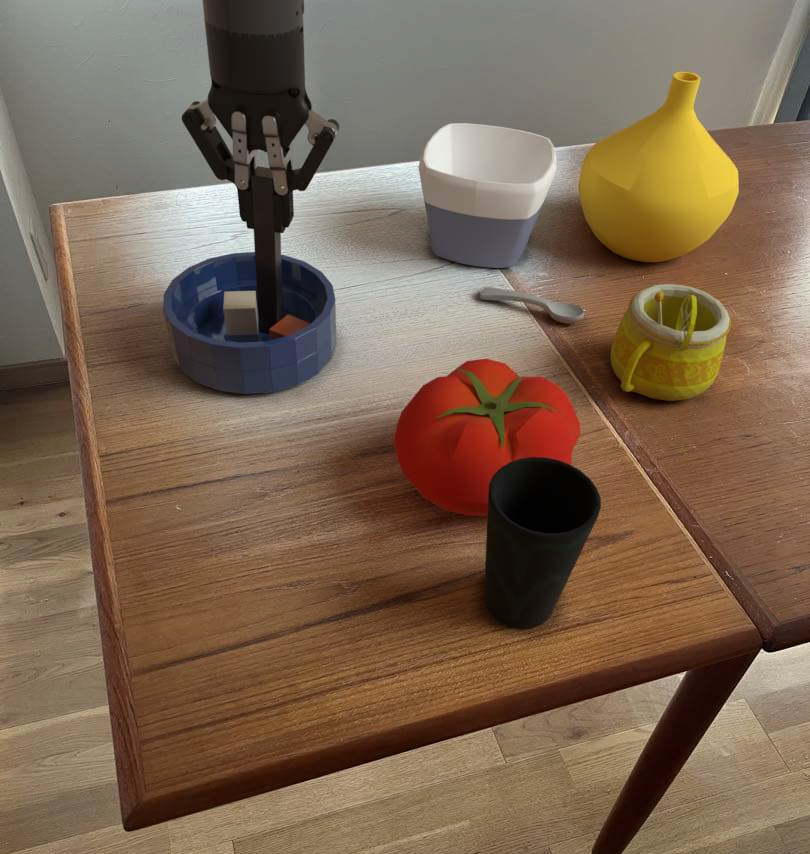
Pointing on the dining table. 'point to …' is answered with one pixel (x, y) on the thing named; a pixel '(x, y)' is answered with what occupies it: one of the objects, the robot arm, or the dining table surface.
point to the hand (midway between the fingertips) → (268, 226)
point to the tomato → (480, 431)
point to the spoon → (556, 310)
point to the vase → (659, 182)
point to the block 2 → (287, 327)
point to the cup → (534, 537)
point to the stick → (266, 251)
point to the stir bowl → (248, 354)
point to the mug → (670, 342)
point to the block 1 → (240, 313)
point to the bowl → (484, 191)
